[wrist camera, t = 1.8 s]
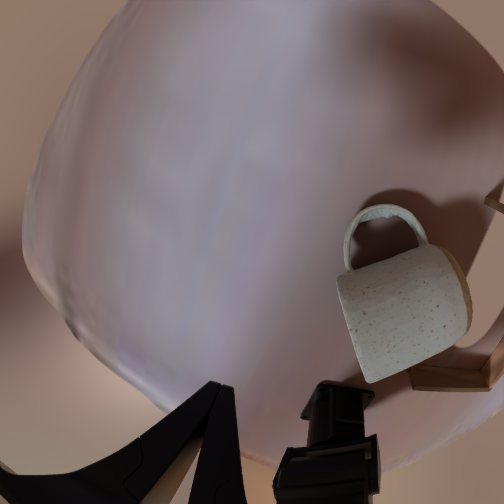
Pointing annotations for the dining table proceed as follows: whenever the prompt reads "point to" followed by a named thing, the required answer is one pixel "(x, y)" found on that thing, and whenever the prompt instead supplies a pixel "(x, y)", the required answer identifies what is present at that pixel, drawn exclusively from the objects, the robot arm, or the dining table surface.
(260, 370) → the dining table surface
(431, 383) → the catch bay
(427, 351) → the ceramic mug
